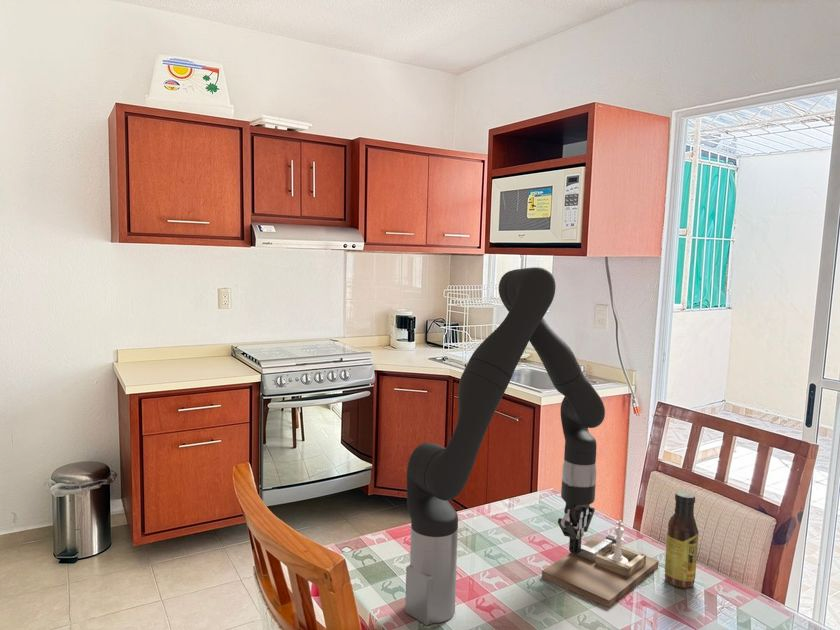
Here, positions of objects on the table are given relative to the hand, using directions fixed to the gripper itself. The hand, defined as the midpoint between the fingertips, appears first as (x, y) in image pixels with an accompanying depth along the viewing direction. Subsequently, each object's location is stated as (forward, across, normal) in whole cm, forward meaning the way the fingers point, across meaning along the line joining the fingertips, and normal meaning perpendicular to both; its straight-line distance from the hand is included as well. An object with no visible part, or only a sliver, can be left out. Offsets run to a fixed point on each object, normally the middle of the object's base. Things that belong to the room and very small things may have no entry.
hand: (574, 552), depth 139 cm
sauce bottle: (+3, -10, +20) cm, 23 cm away
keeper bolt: (+1, -6, +1) cm, 6 cm away
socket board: (+3, -1, +6) cm, 7 cm away
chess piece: (+2, -5, +8) cm, 10 cm away
